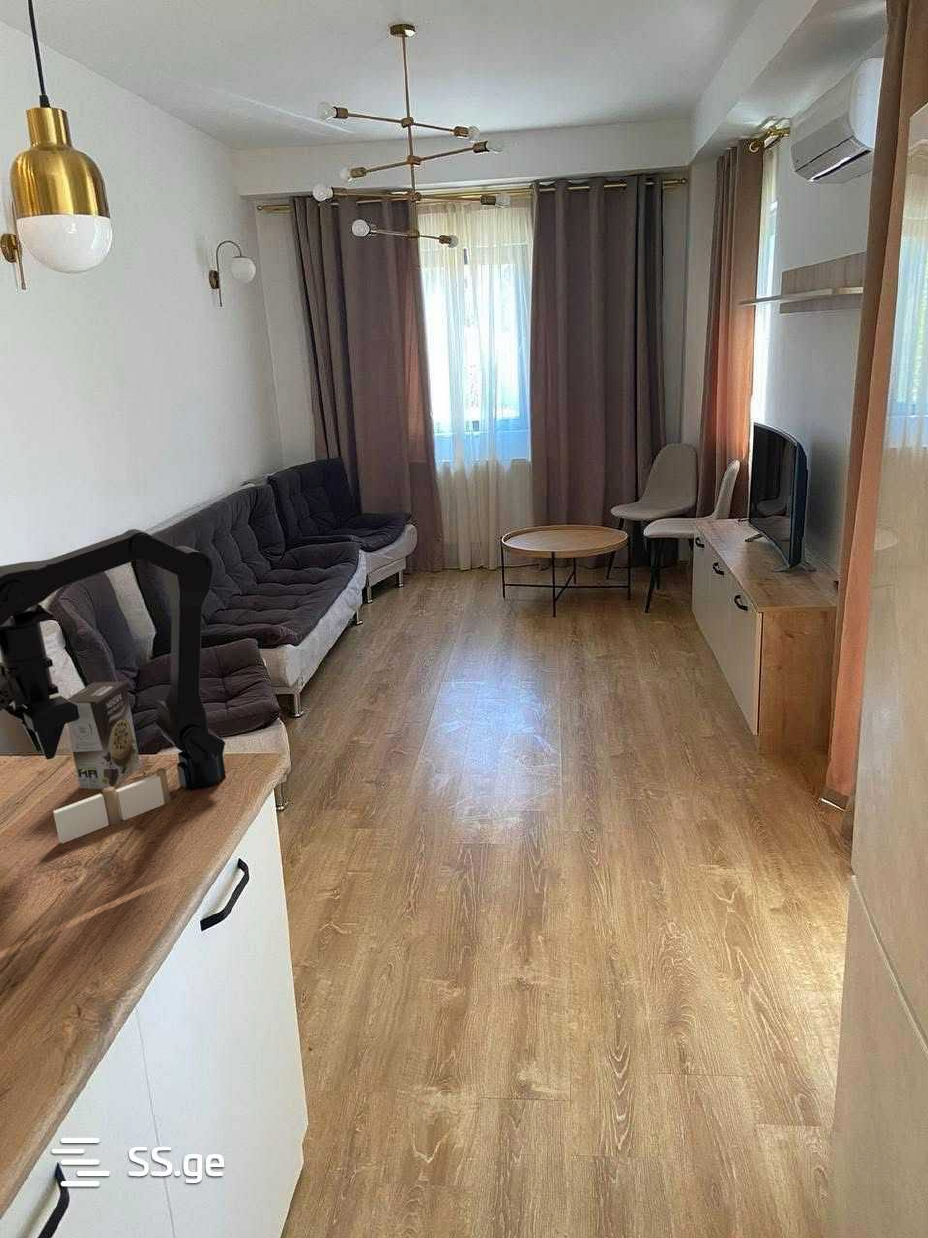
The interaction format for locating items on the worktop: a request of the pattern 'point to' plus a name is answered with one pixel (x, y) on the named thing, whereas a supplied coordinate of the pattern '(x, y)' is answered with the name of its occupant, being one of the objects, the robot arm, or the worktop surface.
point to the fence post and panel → (136, 797)
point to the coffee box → (103, 735)
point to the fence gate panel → (81, 818)
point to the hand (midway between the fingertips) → (45, 754)
